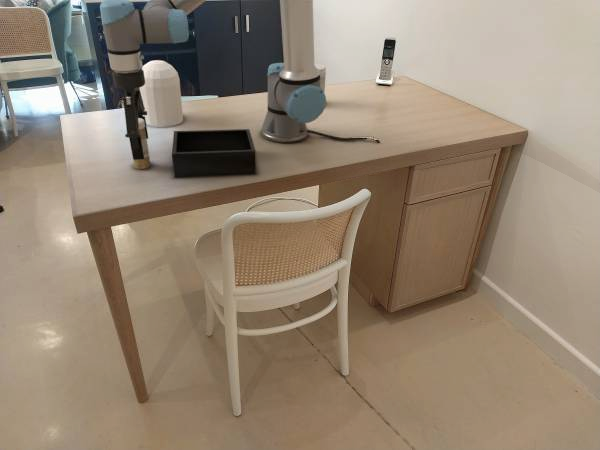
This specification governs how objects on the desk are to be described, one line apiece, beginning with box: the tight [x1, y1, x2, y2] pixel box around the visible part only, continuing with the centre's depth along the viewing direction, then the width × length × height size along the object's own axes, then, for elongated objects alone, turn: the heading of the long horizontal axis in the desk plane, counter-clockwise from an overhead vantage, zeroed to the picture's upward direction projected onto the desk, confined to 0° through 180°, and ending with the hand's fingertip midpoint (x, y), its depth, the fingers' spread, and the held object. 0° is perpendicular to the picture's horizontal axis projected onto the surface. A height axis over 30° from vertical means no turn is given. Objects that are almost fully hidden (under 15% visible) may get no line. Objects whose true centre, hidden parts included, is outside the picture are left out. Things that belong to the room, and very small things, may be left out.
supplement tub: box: [315, 63, 327, 92], centre depth 174 cm, size 10×10×15 cm
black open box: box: [171, 128, 257, 179], centre depth 128 cm, size 22×16×7 cm
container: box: [139, 59, 184, 128], centre depth 151 cm, size 13×13×20 cm
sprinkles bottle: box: [133, 118, 152, 170], centre depth 123 cm, size 5×5×13 cm
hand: (141, 148), depth 123 cm, fingers open, 13 cm apart
